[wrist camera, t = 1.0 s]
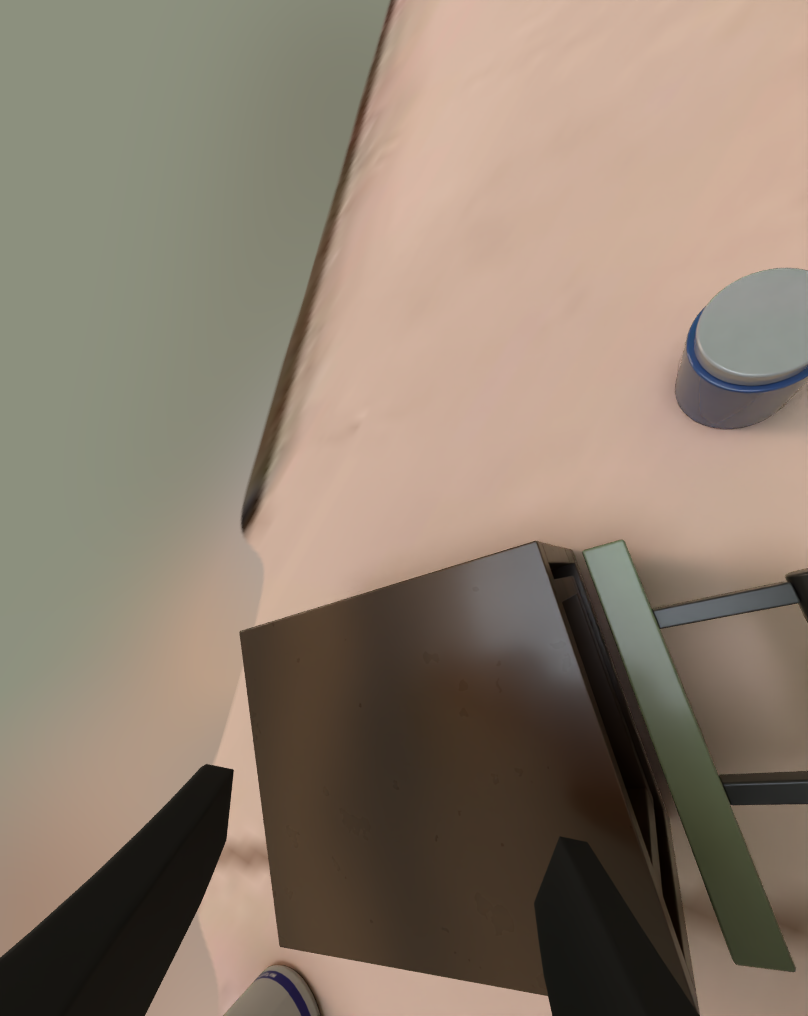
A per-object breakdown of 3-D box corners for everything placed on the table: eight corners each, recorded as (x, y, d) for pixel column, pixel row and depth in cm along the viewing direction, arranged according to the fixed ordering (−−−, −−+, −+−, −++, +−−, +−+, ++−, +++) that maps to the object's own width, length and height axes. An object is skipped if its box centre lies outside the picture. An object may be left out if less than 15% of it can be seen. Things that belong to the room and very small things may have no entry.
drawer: (760, 510, 15) (839, 478, 10) (912, 811, 13) (1148, 1019, 7) (390, 611, 23) (307, 627, 17) (437, 816, 20) (358, 918, 14)
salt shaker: (789, 326, 16) (847, 241, 12) (800, 421, 16) (864, 368, 11) (671, 350, 18) (684, 283, 14) (678, 435, 18) (693, 393, 13)
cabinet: (571, 549, 19) (536, 540, 12) (669, 819, 16) (701, 1025, 9) (352, 611, 25) (238, 631, 18) (395, 820, 22) (279, 947, 15)
